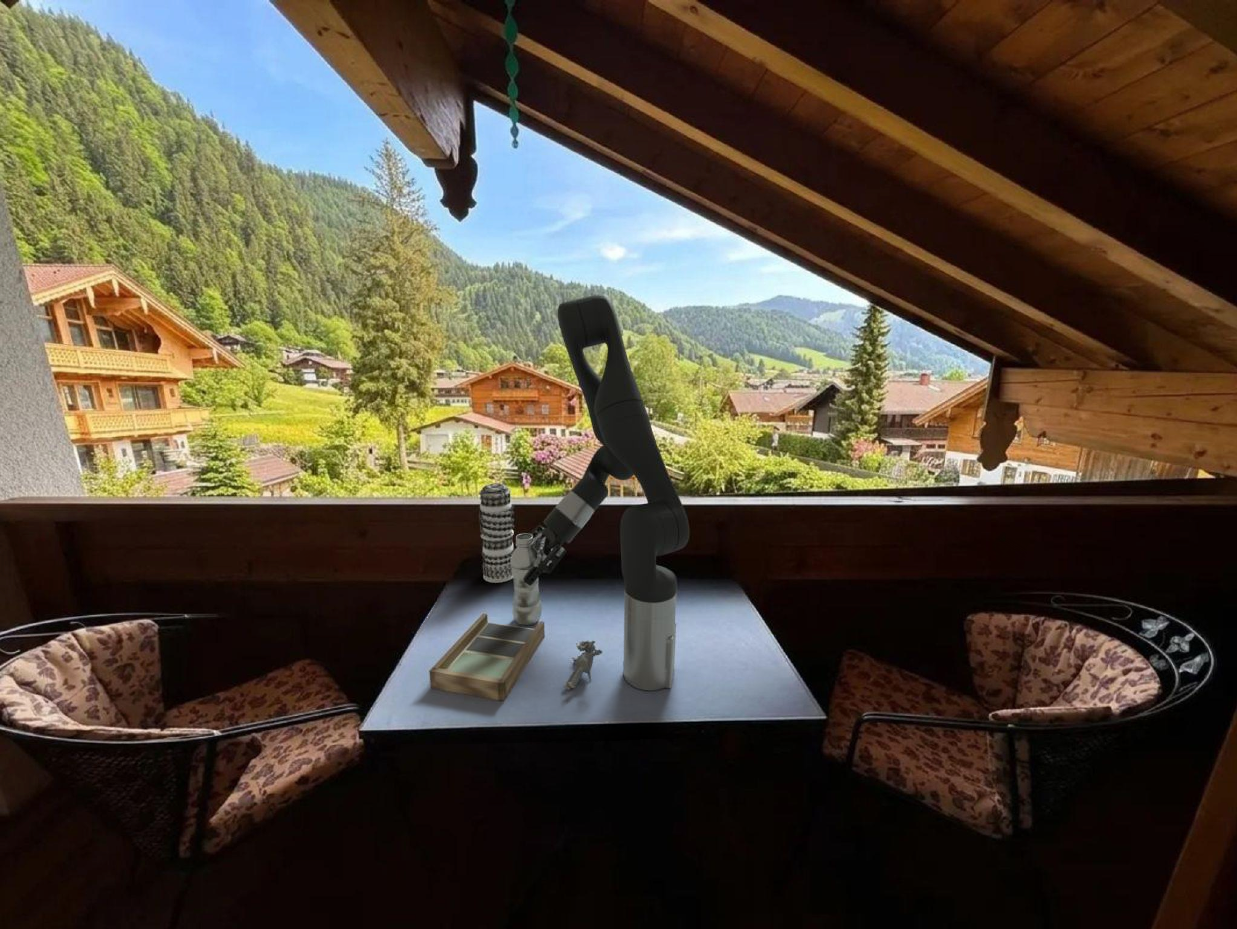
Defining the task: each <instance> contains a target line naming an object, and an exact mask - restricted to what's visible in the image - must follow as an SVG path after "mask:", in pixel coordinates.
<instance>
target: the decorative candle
mask: <svg viewBox="0 0 1237 929" xmlns="http://www.w3.org/2000/svg"><path fill="white" fill-rule="evenodd" d="M511 492H512V490H511V489H510V488H508V486H507V485H506V484H504V483H497V482H495V483H488V484H486V485H484V486H483V487H482V489H481V490H479V491H478V494H479V495H480V503H479V507H478V508H477V509H476V510H477V511H478V518H477V519H479V521H478V524H479V526H480V528H479V531H480V538H481V539H482V552H481V556H482V559H481V560H482V562H483V563H482V565H481V566H482V573H483V576H482V577H483V580H484V581H486V582H488V583H495V584H496V583H503V582H508V581H511V580H513V573H512V568H511V562H510V559H511V556H512V554H513V552H514V550H515V548H514V542H513V536H514V535H515V534H514V532H515V531H514V530H513V529H514V528H515V524H514V522H515V519H514V518H512V517H513V516H514V515H515V511H513V510H515V506H514V505H512V501H511Z"/></svg>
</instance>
